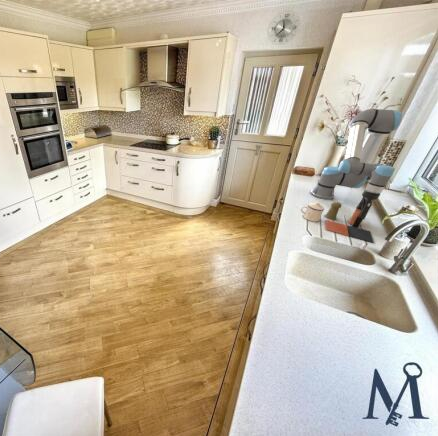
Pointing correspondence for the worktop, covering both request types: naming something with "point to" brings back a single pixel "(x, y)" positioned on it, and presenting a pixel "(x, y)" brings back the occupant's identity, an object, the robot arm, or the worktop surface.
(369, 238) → the charcoal mat
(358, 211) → the copper-orange cylinder
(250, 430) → the worktop surface
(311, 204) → the teacup with lid
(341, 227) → the terracotta mat
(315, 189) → the robot arm
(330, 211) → the olive rounded bottle shape
